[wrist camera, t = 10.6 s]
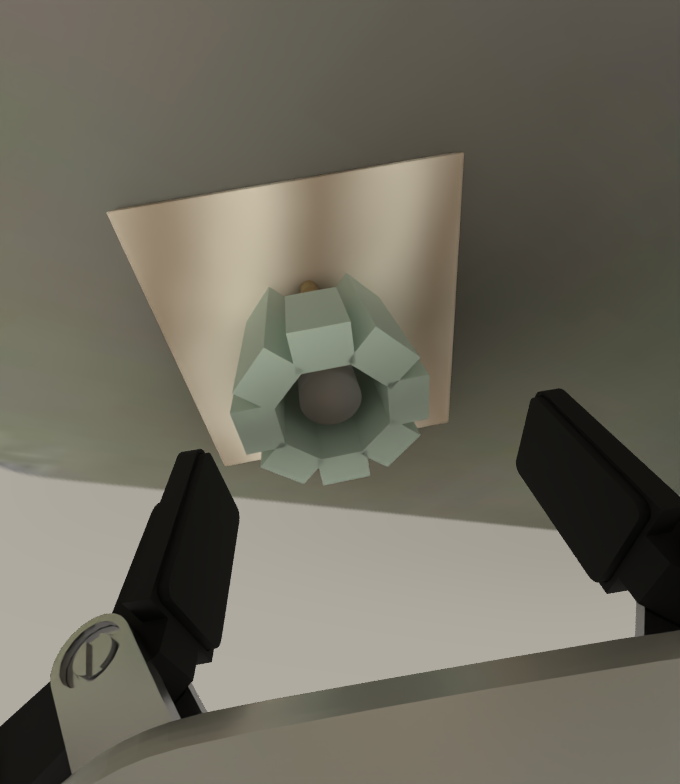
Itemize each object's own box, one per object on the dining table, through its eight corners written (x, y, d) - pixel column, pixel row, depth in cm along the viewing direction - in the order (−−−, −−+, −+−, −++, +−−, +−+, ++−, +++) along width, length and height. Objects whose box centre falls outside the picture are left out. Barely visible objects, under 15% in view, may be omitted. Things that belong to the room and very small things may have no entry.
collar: (383, 258, 16) (430, 306, 11) (391, 386, 20) (428, 463, 15) (227, 286, 15) (203, 348, 10) (268, 410, 19) (263, 497, 15)
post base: (453, 152, 15) (541, 152, 10) (442, 412, 23) (487, 483, 18) (116, 208, 14) (28, 238, 9) (226, 454, 22) (212, 540, 17)
